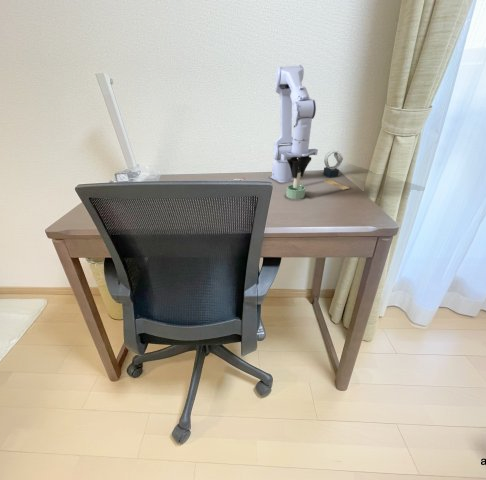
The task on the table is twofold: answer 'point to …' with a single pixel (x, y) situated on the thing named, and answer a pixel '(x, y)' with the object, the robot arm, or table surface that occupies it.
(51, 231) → the table surface
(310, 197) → the table surface
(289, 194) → the pen pot
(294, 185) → the marker
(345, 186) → the cork mat
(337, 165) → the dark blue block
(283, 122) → the robot arm
